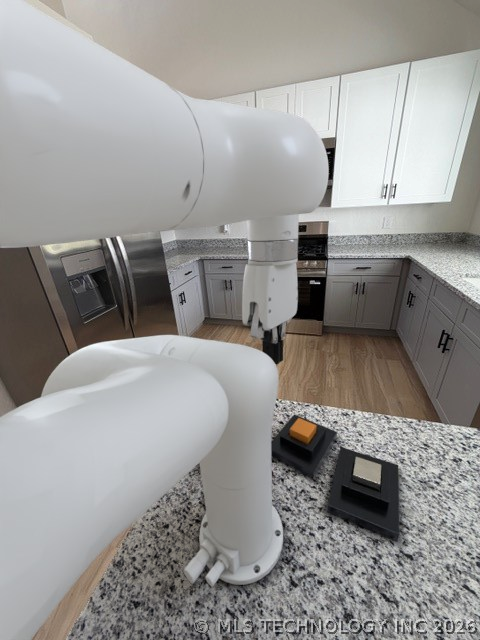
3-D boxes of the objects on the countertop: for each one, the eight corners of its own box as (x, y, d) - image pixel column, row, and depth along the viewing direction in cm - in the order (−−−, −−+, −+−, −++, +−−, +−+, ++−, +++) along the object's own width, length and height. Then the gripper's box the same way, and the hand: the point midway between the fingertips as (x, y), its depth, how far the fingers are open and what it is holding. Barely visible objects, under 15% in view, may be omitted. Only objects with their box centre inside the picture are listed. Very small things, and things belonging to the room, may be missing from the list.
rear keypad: (313, 479, 50) (314, 464, 48) (266, 453, 56) (266, 440, 54) (336, 438, 58) (337, 425, 57) (294, 419, 64) (294, 407, 63)
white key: (378, 492, 44) (380, 484, 43) (352, 482, 45) (353, 474, 45) (379, 472, 47) (381, 464, 46) (354, 464, 49) (355, 456, 48)
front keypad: (397, 542, 40) (401, 526, 38) (326, 512, 44) (328, 496, 43) (397, 471, 50) (400, 457, 49) (340, 453, 55) (341, 439, 54)
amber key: (307, 444, 53) (308, 437, 53) (289, 436, 56) (289, 428, 55) (316, 432, 56) (316, 425, 56) (298, 424, 59) (298, 417, 58)
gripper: (277, 247, 49) (277, 341, 55) (220, 257, 38) (228, 372, 44) (317, 248, 44) (311, 350, 50) (265, 259, 34) (266, 387, 40)
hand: (272, 360), depth 47 cm, fingers closed
